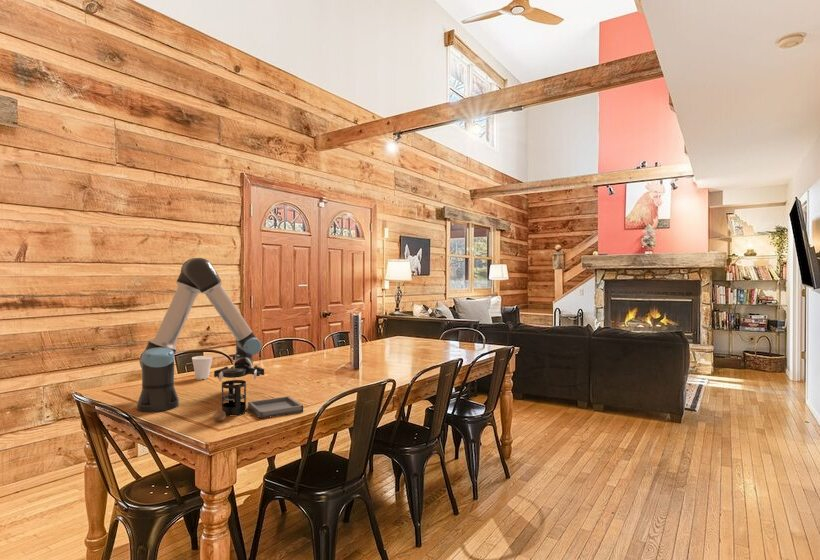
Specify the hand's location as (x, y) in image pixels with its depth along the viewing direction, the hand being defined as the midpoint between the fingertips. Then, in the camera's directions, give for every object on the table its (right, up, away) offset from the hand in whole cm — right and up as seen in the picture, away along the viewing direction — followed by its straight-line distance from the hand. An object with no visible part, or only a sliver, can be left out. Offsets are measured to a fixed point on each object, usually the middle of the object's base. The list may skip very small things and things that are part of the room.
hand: (237, 376), depth 197 cm
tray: (+16, -13, -4) cm, 21 cm away
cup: (-37, -11, +51) cm, 63 cm away
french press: (+2, -13, -8) cm, 15 cm away
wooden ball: (0, -13, -19) cm, 23 cm away
